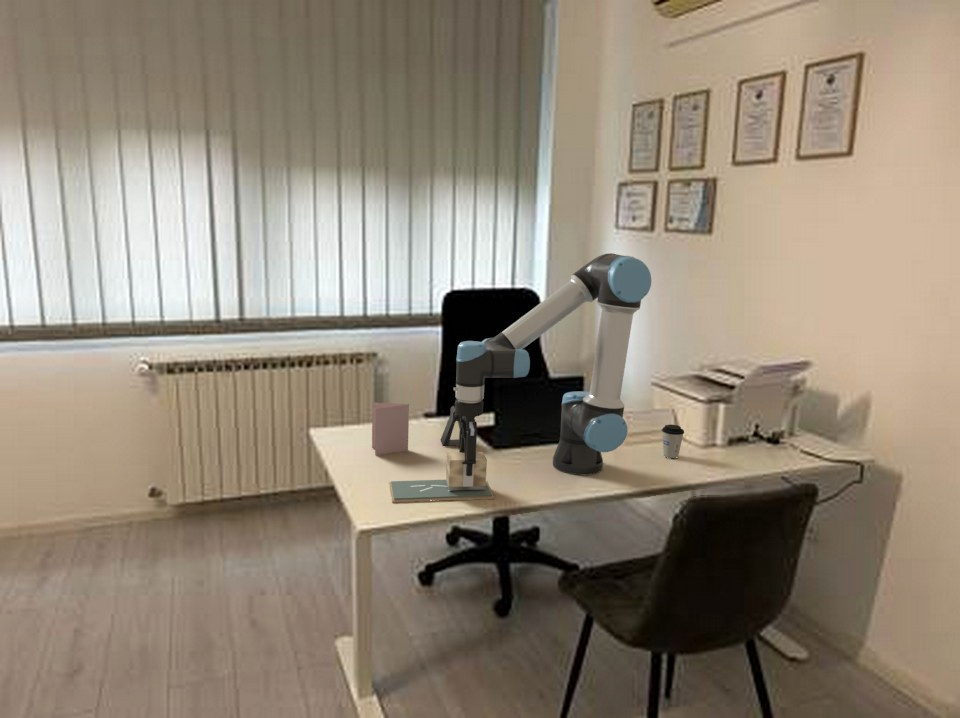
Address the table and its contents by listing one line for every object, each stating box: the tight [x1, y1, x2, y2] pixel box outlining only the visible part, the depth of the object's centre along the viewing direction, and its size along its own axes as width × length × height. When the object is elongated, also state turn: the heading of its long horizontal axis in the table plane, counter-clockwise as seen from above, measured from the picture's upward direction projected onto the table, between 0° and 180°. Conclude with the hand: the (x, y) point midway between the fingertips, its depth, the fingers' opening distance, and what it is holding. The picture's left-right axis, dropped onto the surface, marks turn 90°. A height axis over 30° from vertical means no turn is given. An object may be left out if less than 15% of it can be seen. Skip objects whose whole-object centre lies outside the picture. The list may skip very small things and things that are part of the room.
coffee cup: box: [661, 424, 685, 459], centre depth 234 cm, size 7×7×10 cm
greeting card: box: [371, 402, 410, 456], centre depth 228 cm, size 11×7×15 cm, turn 89°
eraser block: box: [445, 451, 488, 490], centre depth 200 cm, size 10×6×8 cm, turn 100°
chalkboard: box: [388, 479, 495, 504], centre depth 200 cm, size 27×13×1 cm, turn 101°
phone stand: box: [440, 405, 460, 447], centre depth 239 cm, size 9×6×12 cm, turn 100°
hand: (465, 481), depth 200 cm, fingers closed on eraser block, 6 cm apart
